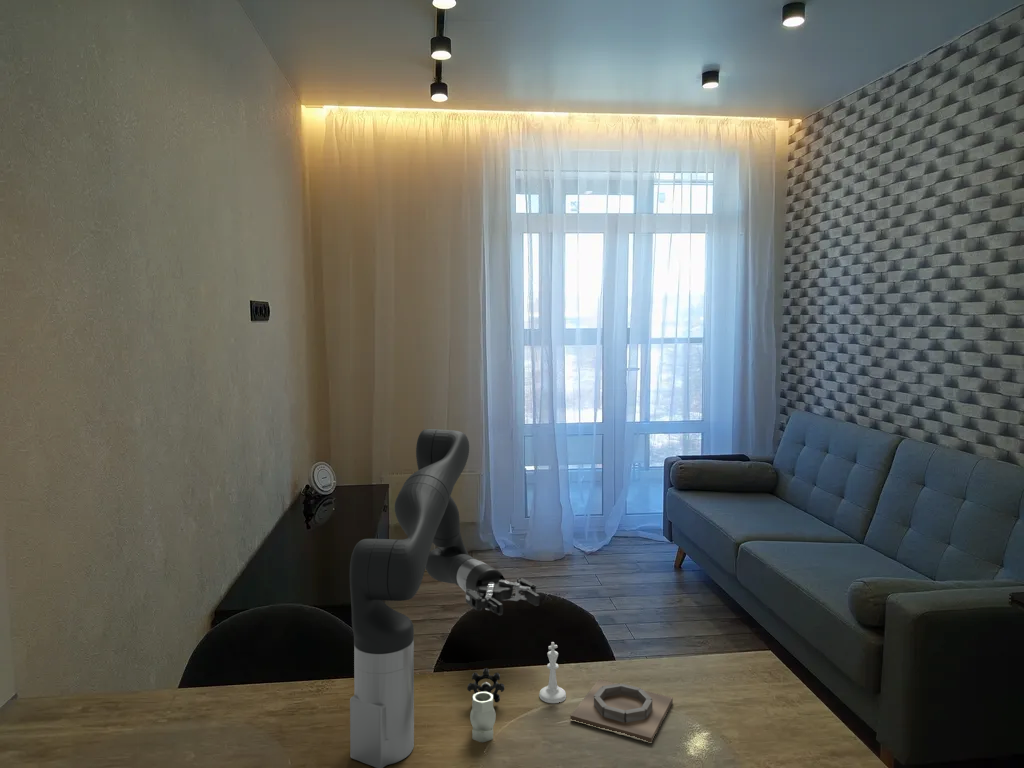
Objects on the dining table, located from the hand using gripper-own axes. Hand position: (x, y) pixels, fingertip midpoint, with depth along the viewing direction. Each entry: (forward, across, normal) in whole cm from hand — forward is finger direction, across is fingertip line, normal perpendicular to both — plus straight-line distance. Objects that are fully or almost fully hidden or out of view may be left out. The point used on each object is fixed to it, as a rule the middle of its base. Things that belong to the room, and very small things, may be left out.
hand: (520, 605), depth 126 cm
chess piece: (+12, 0, +13) cm, 17 cm away
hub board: (+22, +7, +13) cm, 27 cm away
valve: (+12, -15, +13) cm, 23 cm away
